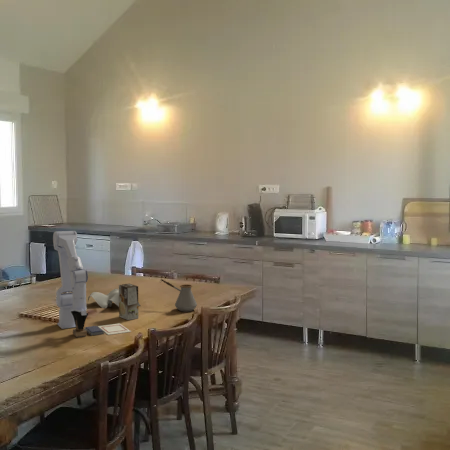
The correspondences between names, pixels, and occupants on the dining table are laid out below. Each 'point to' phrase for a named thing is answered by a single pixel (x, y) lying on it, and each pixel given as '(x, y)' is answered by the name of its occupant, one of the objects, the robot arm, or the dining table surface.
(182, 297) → the coffee pot
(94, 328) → the ink pad
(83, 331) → the stamp
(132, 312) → the coffee box
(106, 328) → the sheet
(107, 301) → the sculpture
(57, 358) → the dining table surface
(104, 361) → the dining table surface
